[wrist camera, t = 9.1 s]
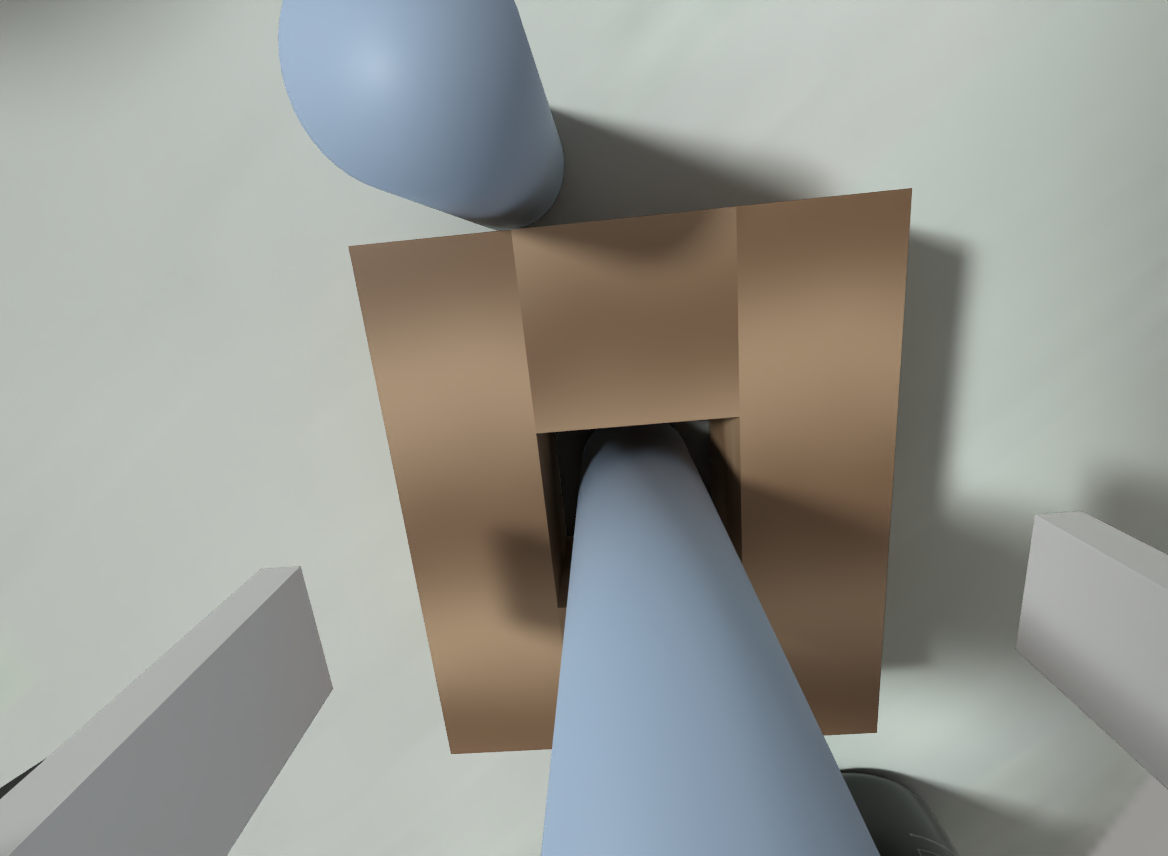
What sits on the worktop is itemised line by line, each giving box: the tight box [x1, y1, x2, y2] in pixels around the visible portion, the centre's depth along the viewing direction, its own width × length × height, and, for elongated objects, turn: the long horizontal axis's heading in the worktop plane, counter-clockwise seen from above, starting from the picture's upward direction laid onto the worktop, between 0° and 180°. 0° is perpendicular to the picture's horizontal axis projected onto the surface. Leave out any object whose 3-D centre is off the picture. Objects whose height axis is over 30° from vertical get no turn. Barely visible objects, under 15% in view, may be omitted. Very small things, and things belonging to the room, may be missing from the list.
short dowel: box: [278, 0, 564, 230], centre depth 11 cm, size 3×3×8 cm
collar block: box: [348, 188, 912, 754], centre depth 16 cm, size 14×12×4 cm
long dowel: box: [541, 423, 880, 856], centre depth 10 cm, size 3×3×16 cm
